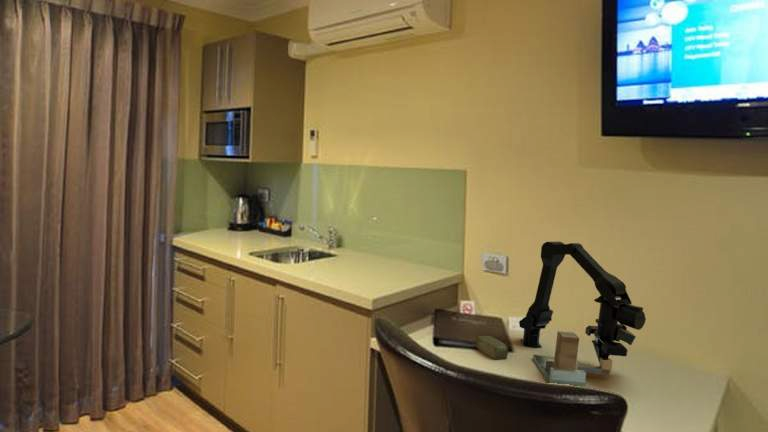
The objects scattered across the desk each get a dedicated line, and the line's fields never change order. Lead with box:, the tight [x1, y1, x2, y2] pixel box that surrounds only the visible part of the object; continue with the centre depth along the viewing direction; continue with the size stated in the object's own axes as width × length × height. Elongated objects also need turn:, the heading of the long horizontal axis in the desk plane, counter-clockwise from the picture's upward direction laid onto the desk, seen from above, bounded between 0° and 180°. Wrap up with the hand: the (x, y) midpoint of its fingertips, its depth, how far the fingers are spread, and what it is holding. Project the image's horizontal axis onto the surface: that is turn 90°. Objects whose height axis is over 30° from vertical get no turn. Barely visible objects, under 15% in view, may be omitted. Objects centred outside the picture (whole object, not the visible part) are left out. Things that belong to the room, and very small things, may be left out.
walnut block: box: [553, 330, 580, 369], centre depth 152 cm, size 5×5×13 cm
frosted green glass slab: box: [532, 354, 587, 387], centre depth 158 cm, size 20×11×4 cm, turn 178°
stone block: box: [476, 335, 509, 360], centre depth 170 cm, size 6×12×5 cm, turn 25°
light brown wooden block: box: [543, 357, 613, 376], centre depth 156 cm, size 2×20×5 cm, turn 88°
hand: (601, 365), depth 159 cm, fingers closed
